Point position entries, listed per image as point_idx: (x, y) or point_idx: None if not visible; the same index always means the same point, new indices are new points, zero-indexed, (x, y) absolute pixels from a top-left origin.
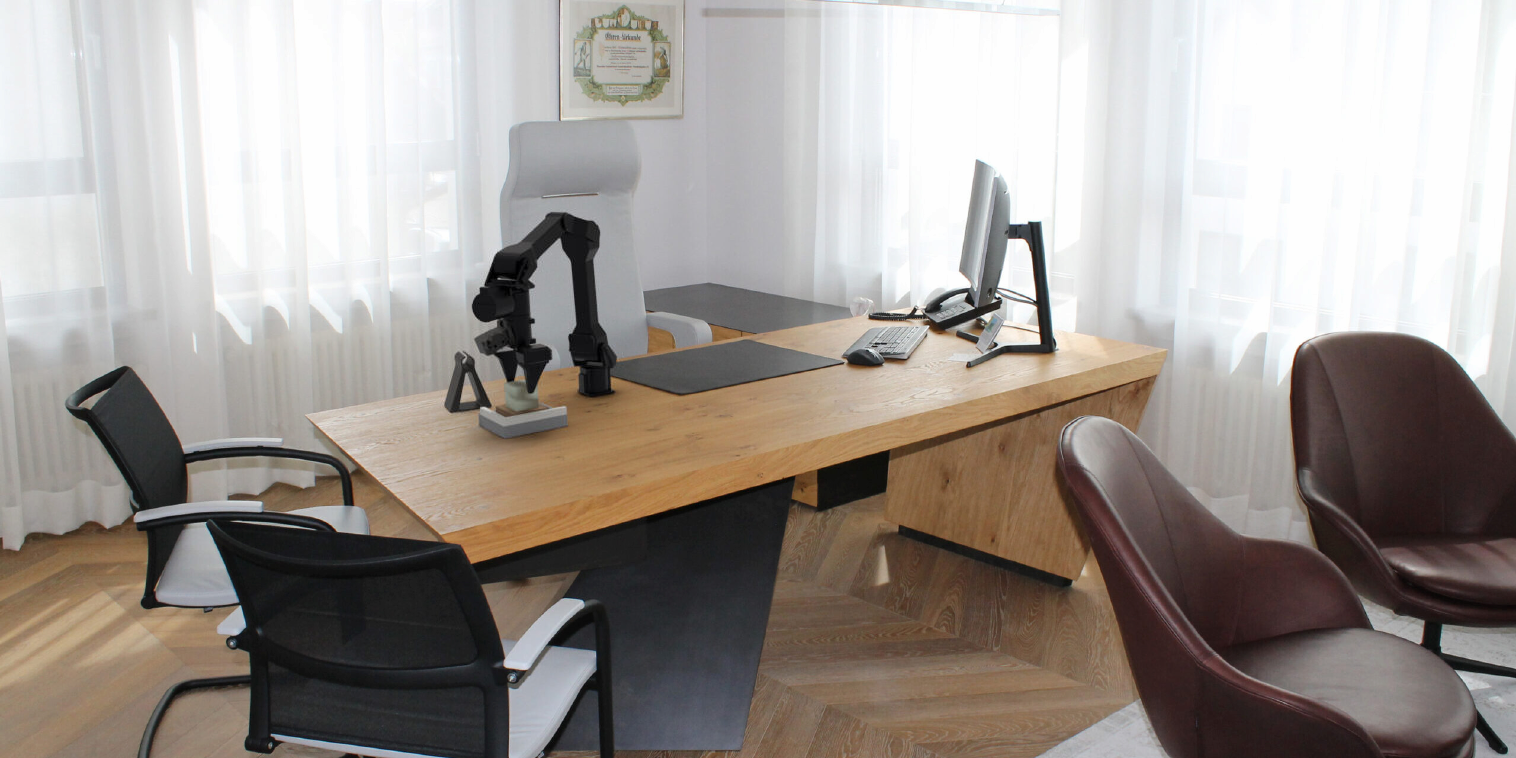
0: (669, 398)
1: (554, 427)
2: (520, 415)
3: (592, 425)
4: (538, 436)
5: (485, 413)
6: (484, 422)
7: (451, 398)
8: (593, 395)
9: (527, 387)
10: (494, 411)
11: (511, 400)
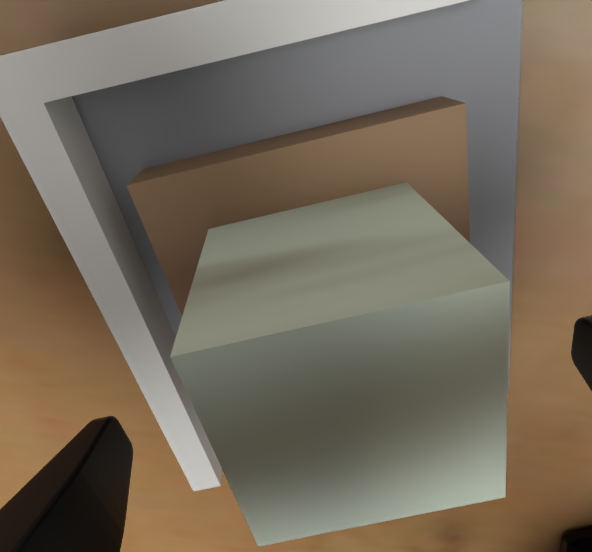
0: None
1: None
2: (71, 231)
3: (177, 480)
4: (60, 261)
5: None
6: None
7: None
8: (563, 543)
9: (48, 471)
10: (496, 95)
11: (292, 240)
